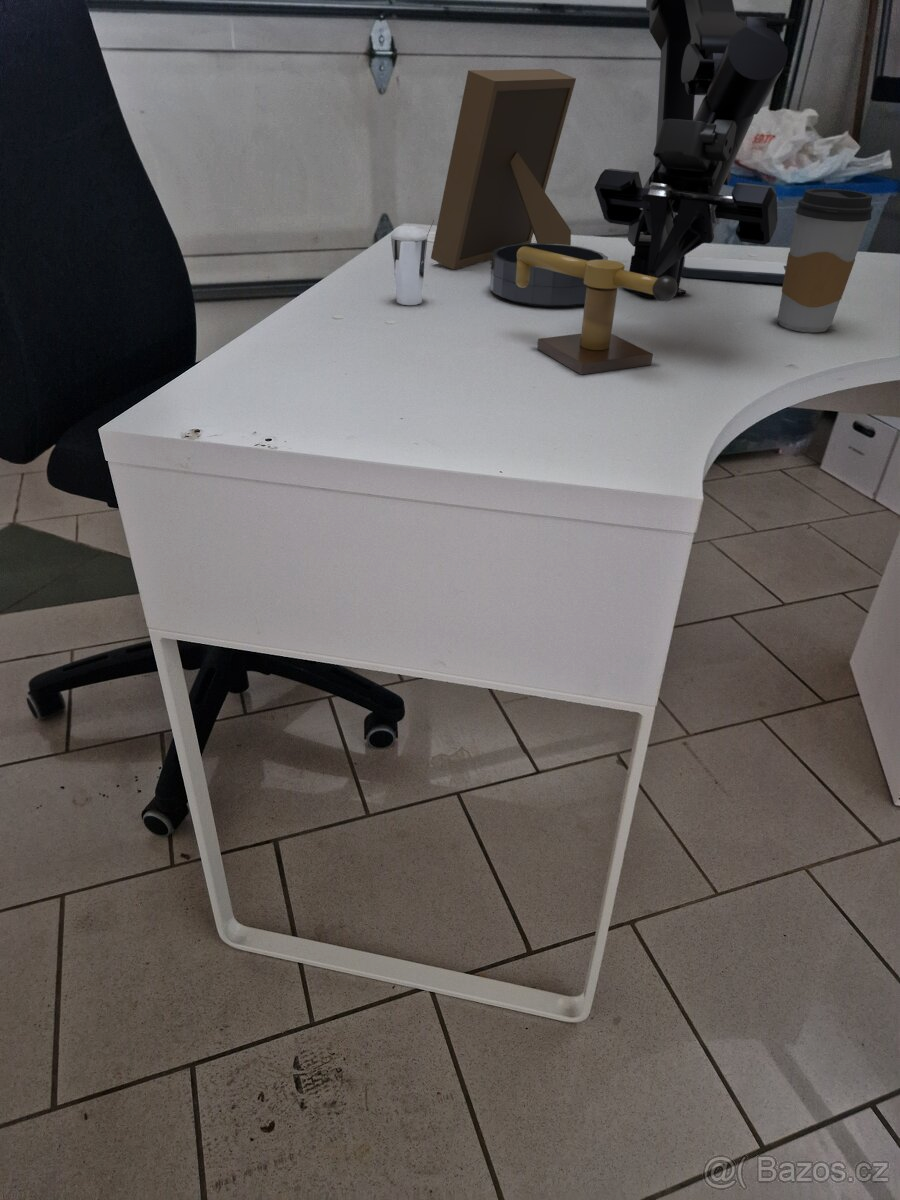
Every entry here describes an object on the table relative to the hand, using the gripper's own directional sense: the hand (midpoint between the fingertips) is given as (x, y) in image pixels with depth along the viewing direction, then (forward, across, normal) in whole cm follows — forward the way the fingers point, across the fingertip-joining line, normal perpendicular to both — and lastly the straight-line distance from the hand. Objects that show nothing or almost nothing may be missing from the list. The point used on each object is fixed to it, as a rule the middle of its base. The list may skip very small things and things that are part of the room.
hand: (652, 274), depth 86 cm
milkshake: (+5, -32, +8) cm, 34 cm away
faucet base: (+8, -4, +4) cm, 10 cm away
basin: (-6, -21, +18) cm, 29 cm away
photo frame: (-16, -35, +28) cm, 48 cm away
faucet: (+4, -6, +1) cm, 7 cm away
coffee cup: (-12, +11, +24) cm, 29 cm away
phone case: (-26, -5, +39) cm, 47 cm away
